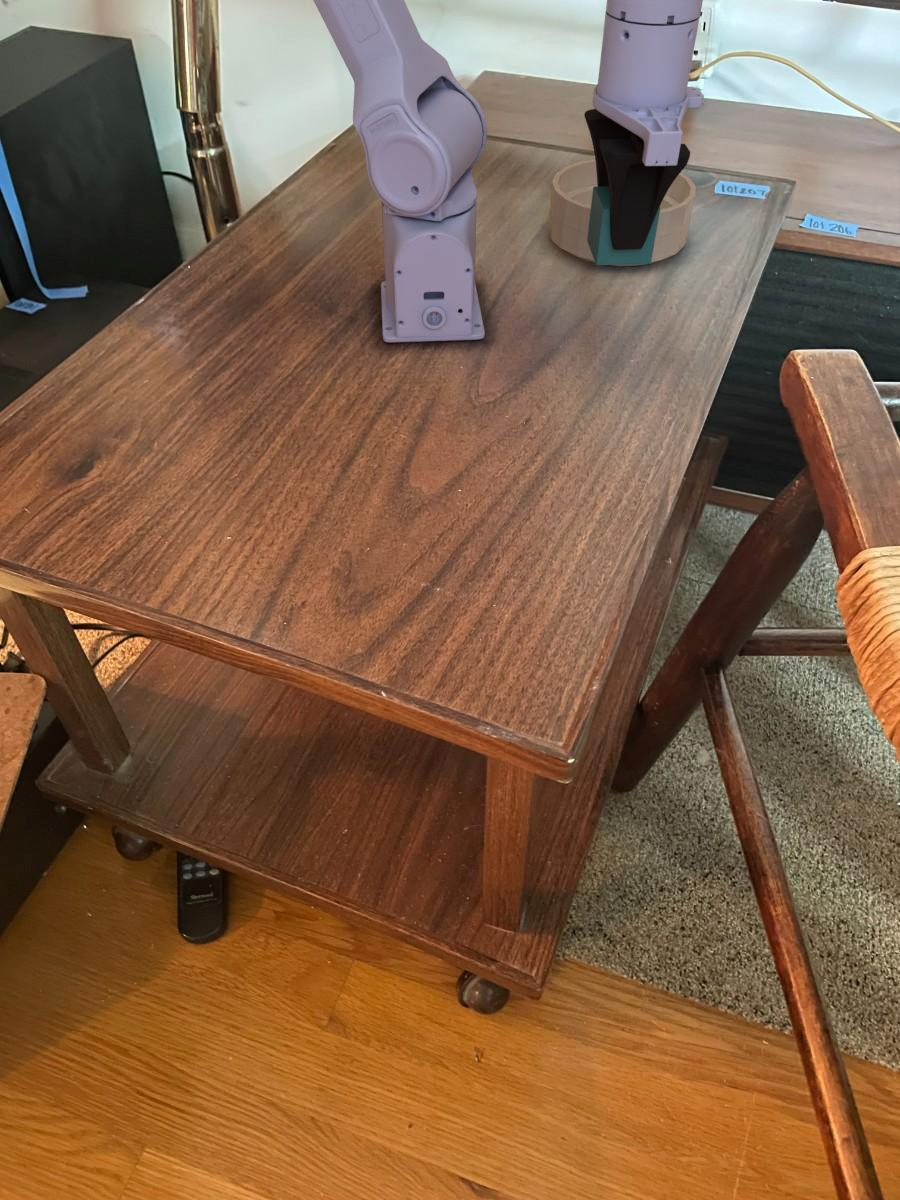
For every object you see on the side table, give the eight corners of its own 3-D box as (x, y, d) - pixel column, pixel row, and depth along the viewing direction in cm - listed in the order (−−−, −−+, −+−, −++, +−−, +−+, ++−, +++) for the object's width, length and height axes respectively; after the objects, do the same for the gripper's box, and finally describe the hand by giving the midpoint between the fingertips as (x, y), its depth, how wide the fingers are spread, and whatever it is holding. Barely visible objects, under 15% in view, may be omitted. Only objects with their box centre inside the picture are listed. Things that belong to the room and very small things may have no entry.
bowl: (700, 268, 78) (712, 211, 75) (559, 273, 78) (565, 215, 74) (666, 209, 87) (675, 156, 84) (539, 213, 86) (543, 159, 83)
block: (651, 264, 64) (660, 208, 61) (596, 265, 64) (603, 209, 61) (639, 239, 66) (648, 185, 64) (586, 241, 66) (593, 186, 63)
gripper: (751, 46, 49) (701, 279, 59) (687, -16, 59) (653, 192, 69) (626, 48, 49) (596, 281, 59) (583, -15, 59) (563, 193, 69)
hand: (620, 233), depth 64 cm, fingers closed on block, 4 cm apart
